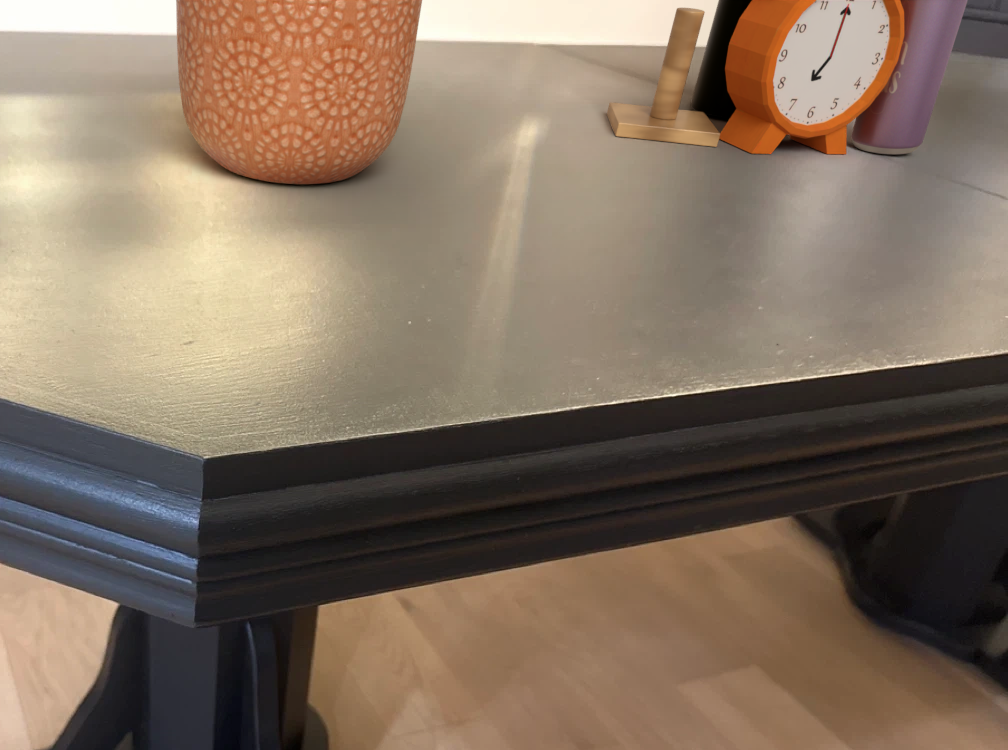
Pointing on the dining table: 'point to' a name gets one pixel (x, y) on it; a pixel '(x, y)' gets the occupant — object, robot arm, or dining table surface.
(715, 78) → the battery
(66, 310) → the dining table surface
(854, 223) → the dining table surface
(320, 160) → the planter
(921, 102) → the beverage can
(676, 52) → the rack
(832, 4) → the alarm clock
